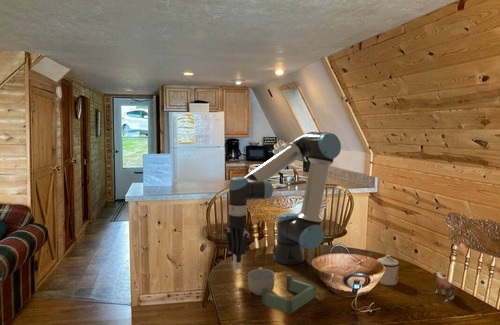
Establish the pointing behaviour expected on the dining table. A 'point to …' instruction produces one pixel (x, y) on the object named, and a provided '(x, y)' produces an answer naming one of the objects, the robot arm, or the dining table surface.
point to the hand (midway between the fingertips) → (236, 268)
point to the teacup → (260, 280)
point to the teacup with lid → (389, 270)
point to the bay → (292, 304)
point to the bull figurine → (444, 286)
